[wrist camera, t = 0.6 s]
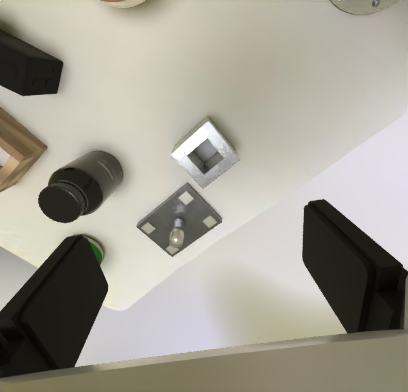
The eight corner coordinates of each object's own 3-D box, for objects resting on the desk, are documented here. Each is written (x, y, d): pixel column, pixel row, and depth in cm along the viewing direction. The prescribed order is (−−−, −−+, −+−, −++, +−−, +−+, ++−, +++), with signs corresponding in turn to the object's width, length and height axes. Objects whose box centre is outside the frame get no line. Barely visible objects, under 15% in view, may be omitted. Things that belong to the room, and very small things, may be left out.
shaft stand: (187, 182, 38) (184, 199, 32) (221, 218, 41) (224, 239, 35) (138, 222, 41) (127, 244, 36) (172, 252, 44) (168, 277, 39)
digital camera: (66, 53, 30) (30, 45, 24) (58, 93, 32) (22, 96, 26) (-21, 7, 28) (-86, -16, 21) (-24, 53, 30) (-84, 46, 24)
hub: (207, 115, 33) (208, 120, 29) (235, 150, 35) (240, 159, 31) (174, 145, 35) (170, 154, 31) (202, 176, 37) (202, 188, 33)
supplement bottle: (128, 159, 36) (96, 192, 25) (117, 195, 39) (85, 238, 28) (84, 142, 35) (30, 169, 24) (76, 181, 38) (25, 220, 27)
